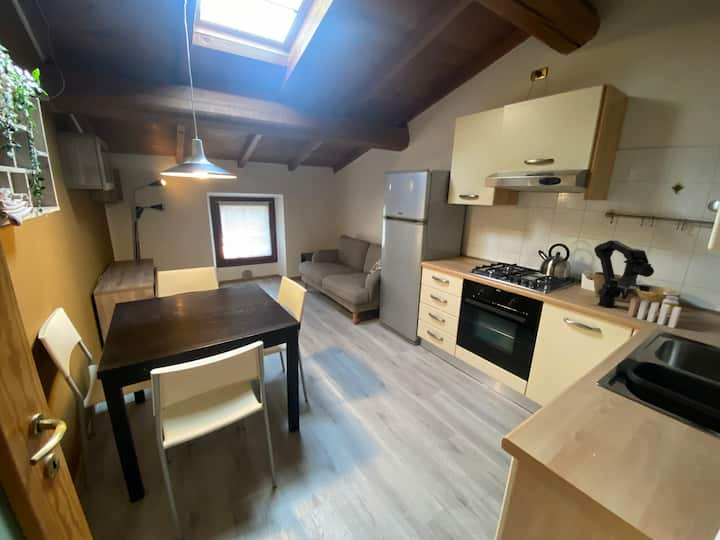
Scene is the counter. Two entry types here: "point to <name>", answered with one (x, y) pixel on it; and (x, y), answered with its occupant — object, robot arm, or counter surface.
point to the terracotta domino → (633, 307)
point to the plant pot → (601, 281)
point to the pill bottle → (670, 303)
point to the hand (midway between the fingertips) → (624, 299)
